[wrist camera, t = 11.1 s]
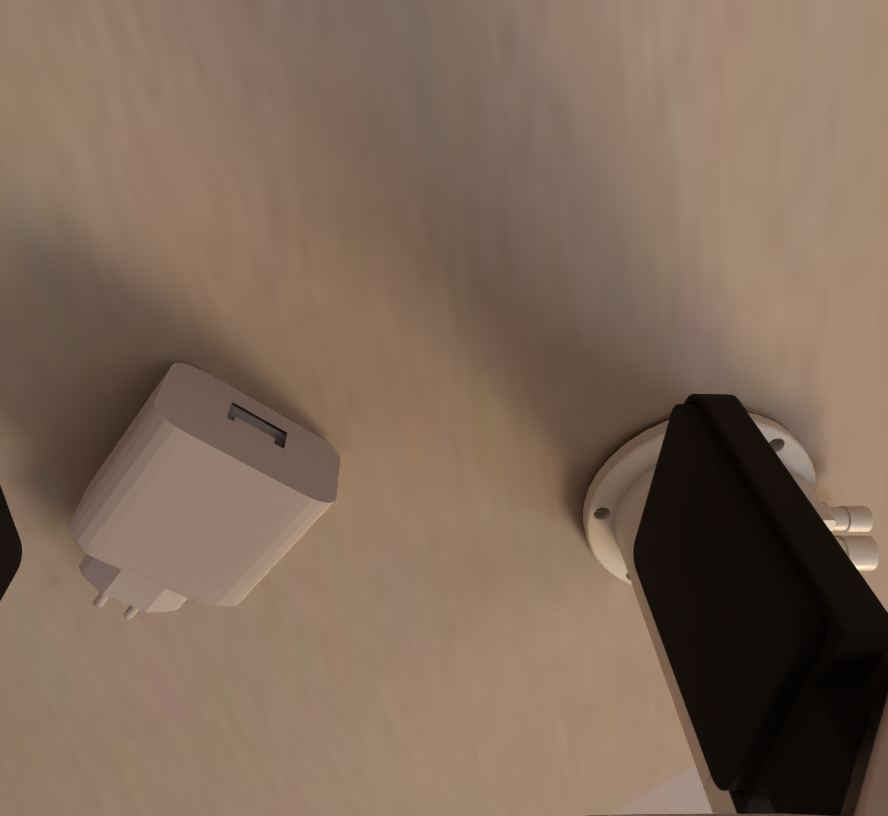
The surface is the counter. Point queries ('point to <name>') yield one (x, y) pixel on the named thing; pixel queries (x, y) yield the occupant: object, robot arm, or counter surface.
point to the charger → (200, 497)
